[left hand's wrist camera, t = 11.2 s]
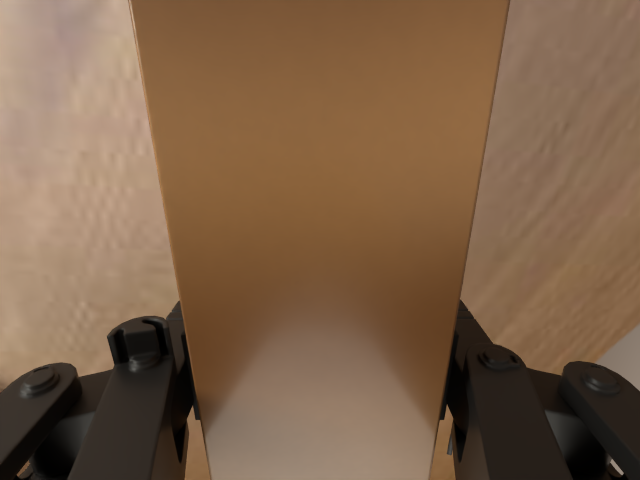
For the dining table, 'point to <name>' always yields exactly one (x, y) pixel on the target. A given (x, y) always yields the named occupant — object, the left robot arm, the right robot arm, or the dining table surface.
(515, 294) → the dining table surface
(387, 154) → the bar
